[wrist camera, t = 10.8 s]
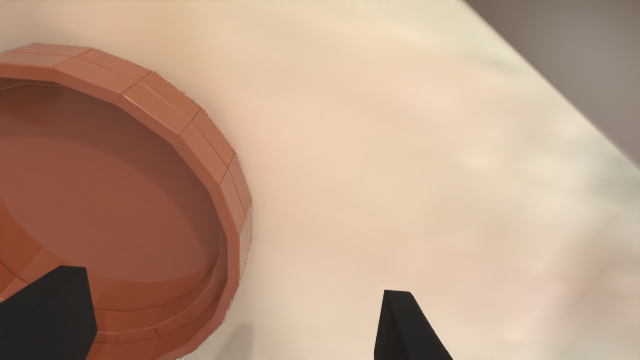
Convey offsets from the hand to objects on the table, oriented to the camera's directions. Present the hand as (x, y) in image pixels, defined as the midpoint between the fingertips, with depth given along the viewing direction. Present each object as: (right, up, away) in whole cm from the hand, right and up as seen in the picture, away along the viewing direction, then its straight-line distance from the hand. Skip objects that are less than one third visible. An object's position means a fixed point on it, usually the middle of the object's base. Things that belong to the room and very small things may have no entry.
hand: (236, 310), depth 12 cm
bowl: (-8, +2, +10) cm, 13 cm away
